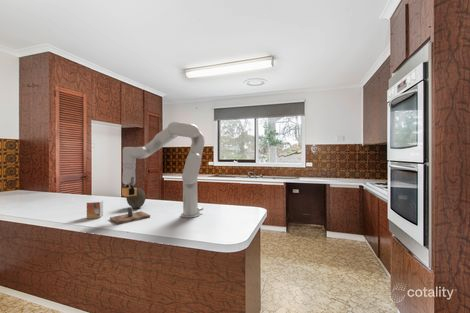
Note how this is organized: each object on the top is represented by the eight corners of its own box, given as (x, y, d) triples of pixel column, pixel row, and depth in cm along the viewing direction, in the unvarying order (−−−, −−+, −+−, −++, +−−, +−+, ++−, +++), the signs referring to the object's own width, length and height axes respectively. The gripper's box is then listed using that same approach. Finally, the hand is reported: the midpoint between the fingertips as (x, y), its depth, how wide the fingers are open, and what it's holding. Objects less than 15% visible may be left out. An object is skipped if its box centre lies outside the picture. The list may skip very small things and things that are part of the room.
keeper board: (141, 213, 155) (141, 203, 155) (150, 217, 145) (150, 206, 145) (109, 219, 141) (109, 208, 141) (117, 224, 131) (117, 212, 131)
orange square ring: (132, 193, 148) (132, 187, 147) (136, 195, 143) (136, 188, 143) (122, 195, 143) (122, 188, 143) (125, 196, 138) (125, 189, 138)
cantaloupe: (150, 206, 174) (149, 187, 173) (133, 211, 162) (133, 190, 161) (138, 204, 181) (138, 186, 181) (122, 208, 169) (121, 188, 169)
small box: (86, 218, 143) (86, 202, 143) (90, 216, 149) (90, 200, 148) (100, 218, 145) (99, 202, 145) (103, 215, 150) (103, 200, 150)
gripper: (118, 165, 146) (118, 193, 146) (128, 167, 134) (128, 196, 134) (130, 165, 151) (130, 191, 152) (140, 166, 139) (140, 195, 139)
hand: (129, 193), depth 143 cm, fingers closed on orange square ring, 6 cm apart
